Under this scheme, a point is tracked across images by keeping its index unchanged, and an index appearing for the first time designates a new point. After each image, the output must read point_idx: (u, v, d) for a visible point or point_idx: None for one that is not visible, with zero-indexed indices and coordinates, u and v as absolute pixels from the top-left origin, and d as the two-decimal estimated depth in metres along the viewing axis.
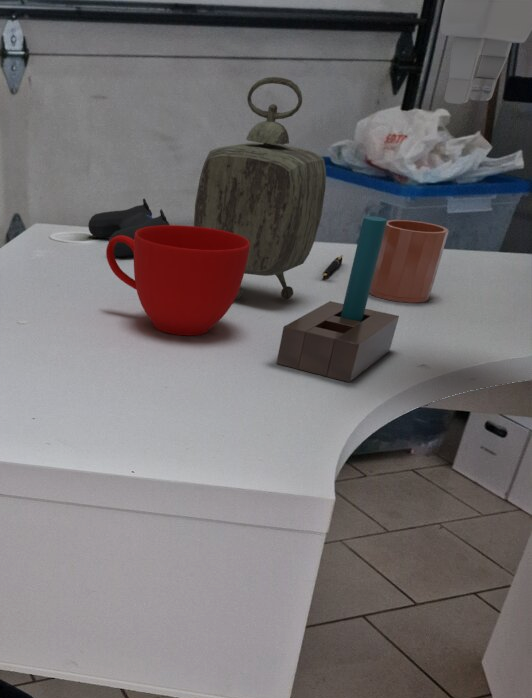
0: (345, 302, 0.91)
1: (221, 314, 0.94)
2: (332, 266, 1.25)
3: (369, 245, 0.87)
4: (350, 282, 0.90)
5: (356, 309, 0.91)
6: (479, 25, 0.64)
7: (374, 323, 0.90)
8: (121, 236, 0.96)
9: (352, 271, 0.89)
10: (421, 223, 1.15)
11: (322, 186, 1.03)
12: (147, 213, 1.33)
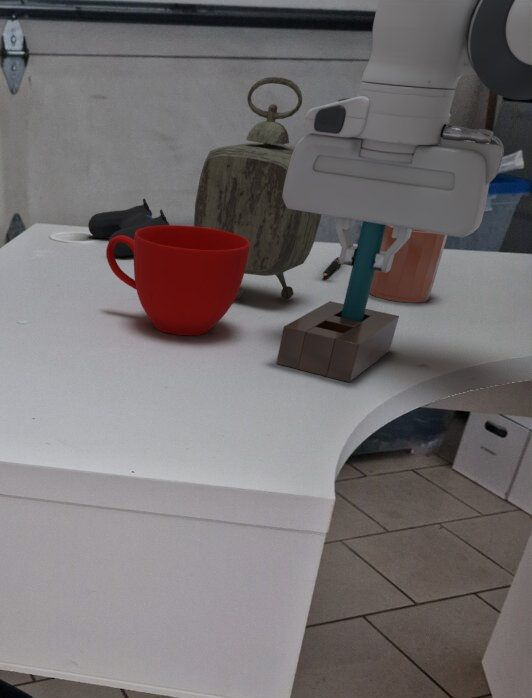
0: (345, 302, 0.91)
1: (221, 314, 0.94)
2: (332, 266, 1.25)
3: (370, 245, 0.87)
4: (350, 282, 0.90)
5: (356, 309, 0.91)
6: None
7: (374, 323, 0.90)
8: (121, 236, 0.96)
9: (352, 271, 0.89)
10: None
11: None
12: (147, 213, 1.33)
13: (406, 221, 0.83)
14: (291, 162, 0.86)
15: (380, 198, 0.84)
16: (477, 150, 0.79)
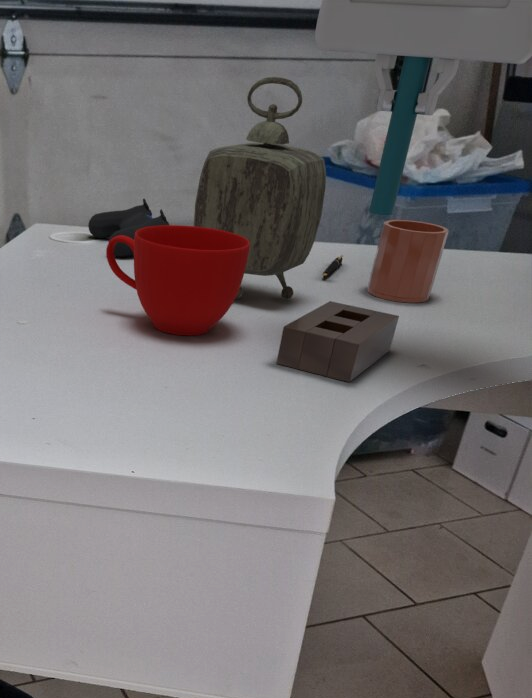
0: (384, 154, 0.84)
1: (221, 314, 0.94)
2: (332, 266, 1.25)
3: (412, 84, 0.79)
4: (389, 130, 0.82)
5: (395, 161, 0.83)
6: None
7: (374, 323, 0.90)
8: (121, 236, 0.96)
9: (392, 117, 0.82)
10: (421, 223, 1.15)
11: (322, 186, 1.03)
12: (147, 213, 1.33)
13: (454, 50, 0.76)
14: None
15: (425, 26, 0.76)
16: None
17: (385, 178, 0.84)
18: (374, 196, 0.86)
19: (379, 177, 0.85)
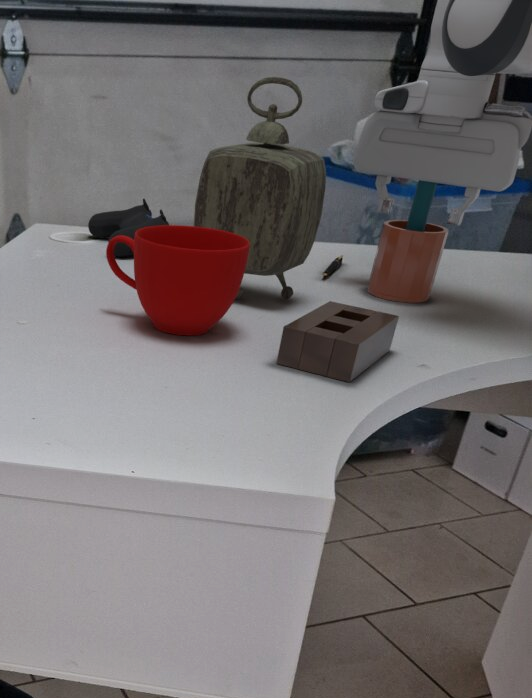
0: None
1: (221, 314, 0.94)
2: (332, 266, 1.25)
3: (423, 201, 1.09)
4: None
5: None
6: None
7: (374, 323, 0.90)
8: (121, 236, 0.96)
9: (408, 223, 1.12)
10: None
11: (322, 186, 1.03)
12: (147, 213, 1.33)
13: (454, 179, 1.06)
14: (362, 134, 1.09)
15: (434, 161, 1.06)
16: (512, 122, 1.01)
17: None
18: None
19: None
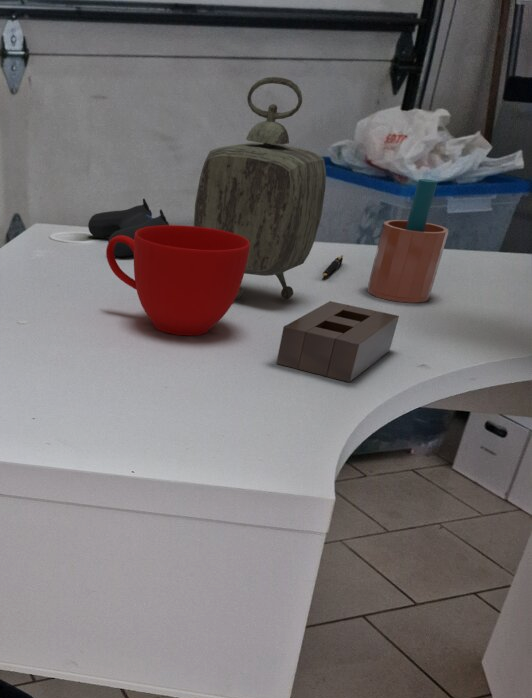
0: None
1: (221, 314, 0.94)
2: (332, 266, 1.25)
3: (423, 201, 1.09)
4: None
5: None
6: None
7: (374, 323, 0.90)
8: (121, 236, 0.96)
9: (408, 223, 1.12)
10: None
11: (322, 186, 1.03)
12: (147, 213, 1.33)
13: None
14: None
15: None
16: None
17: None
18: None
19: None
